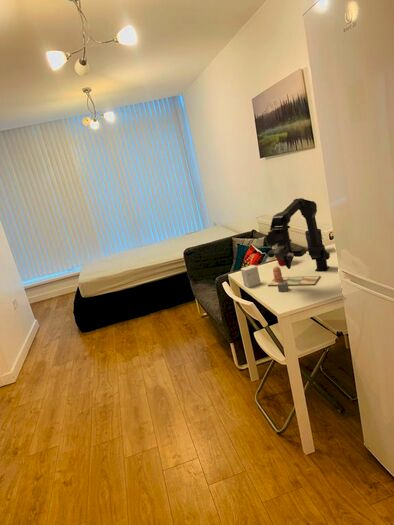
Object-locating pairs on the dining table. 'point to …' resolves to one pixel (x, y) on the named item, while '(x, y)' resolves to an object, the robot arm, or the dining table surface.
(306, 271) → the dining table surface
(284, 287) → the die
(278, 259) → the plastic cup
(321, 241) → the storage jar
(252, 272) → the small box
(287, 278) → the board
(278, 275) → the pawn
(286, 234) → the robot arm
